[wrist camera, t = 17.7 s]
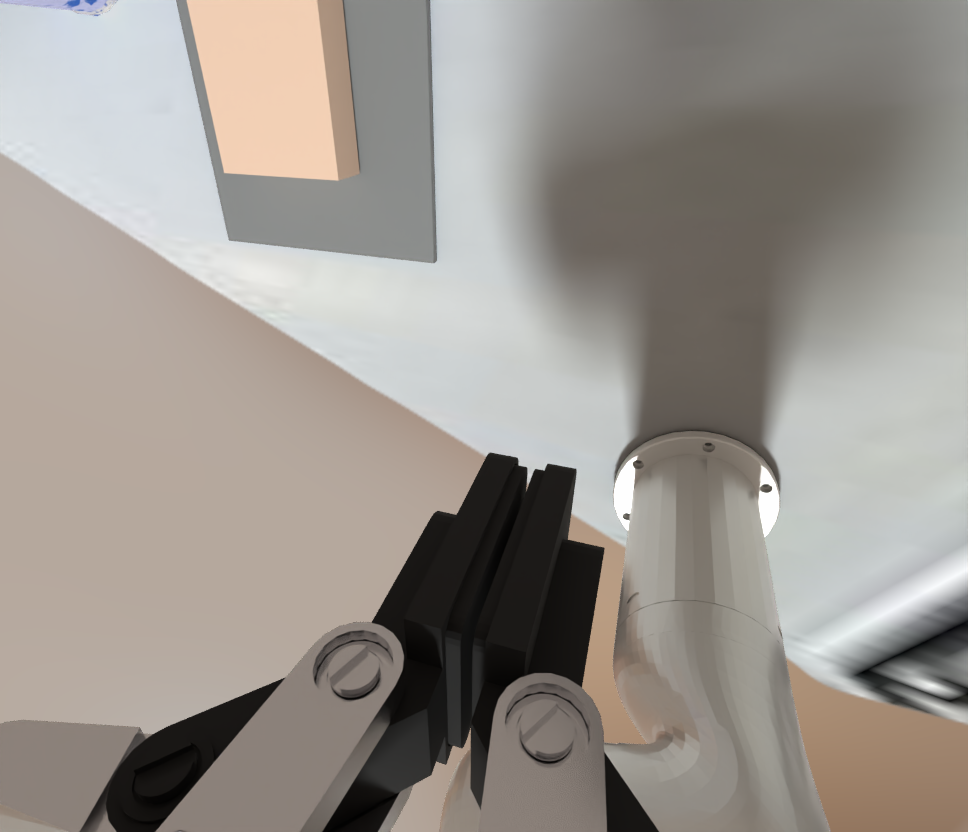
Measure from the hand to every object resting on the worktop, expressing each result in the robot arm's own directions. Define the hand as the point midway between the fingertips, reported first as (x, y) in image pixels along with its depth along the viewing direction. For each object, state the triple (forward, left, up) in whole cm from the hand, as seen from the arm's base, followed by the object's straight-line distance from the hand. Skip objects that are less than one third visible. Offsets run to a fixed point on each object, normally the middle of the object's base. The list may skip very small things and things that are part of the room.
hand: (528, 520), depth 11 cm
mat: (+6, +23, -31) cm, 39 cm away
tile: (+6, +19, -29) cm, 35 cm away
